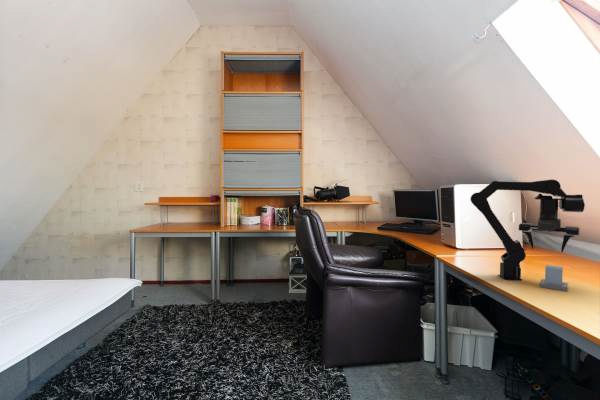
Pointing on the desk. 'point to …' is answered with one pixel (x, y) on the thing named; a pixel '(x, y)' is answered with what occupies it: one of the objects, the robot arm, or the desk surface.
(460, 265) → the desk surface
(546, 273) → the pale blue cube
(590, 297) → the desk surface
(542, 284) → the base plate
